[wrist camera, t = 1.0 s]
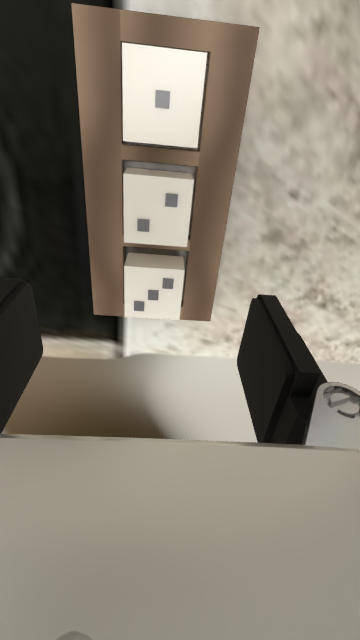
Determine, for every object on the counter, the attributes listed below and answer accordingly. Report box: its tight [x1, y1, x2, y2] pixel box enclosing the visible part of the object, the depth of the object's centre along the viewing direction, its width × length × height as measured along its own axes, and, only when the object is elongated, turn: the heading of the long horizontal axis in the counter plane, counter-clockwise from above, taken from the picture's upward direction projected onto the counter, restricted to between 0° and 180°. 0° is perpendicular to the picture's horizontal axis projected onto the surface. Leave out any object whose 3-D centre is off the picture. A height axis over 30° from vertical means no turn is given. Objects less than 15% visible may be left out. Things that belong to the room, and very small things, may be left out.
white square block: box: [124, 253, 185, 320], centre depth 29 cm, size 5×5×3 cm
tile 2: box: [123, 167, 194, 247], centre depth 25 cm, size 5×5×3 cm
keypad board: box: [71, 3, 260, 321], centre depth 27 cm, size 12×23×2 cm, turn 175°
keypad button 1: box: [122, 43, 207, 148], centre depth 21 cm, size 5×5×3 cm
